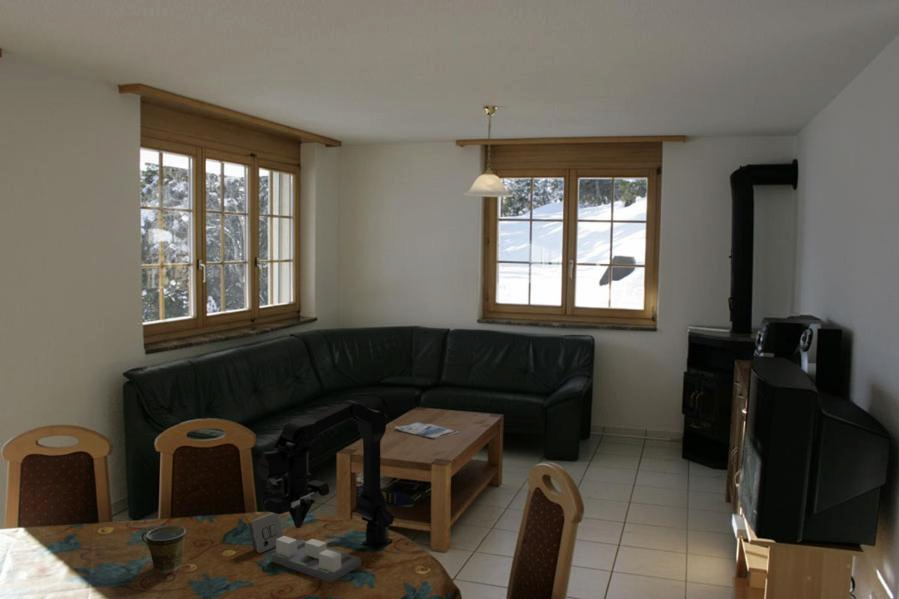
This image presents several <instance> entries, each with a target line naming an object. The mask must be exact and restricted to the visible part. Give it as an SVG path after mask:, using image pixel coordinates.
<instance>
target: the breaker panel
mask: <svg viewBox="0 0 899 599" xmlns="http://www.w3.org/2000/svg"><path fill="white" fill-rule="evenodd" d="M307 541H308V540H305V539H300V540H298V539H295V538H293V537H290V536H286V535H284V536H282V537H280V538H278V539H276V547H275V548H276V549H275V550H276V552H273V553H271V554H270V561H271V562H272V563H275V564H277V565H279V566H280V565H281V566H283V567H286V568H289V569H291V570H293V571H296V572H300V573H303V574H305V575H308V576H312V577H314V578H318V579H319V580H323V581H326V582H328V583H333V582H334V581H336V580H338V579H340V578H341V577H343V576H345V575H347V574H348V573H350V572H352V571H354V570H355V569H357V568H360V567H361V565H362V559H361V557H359V556H355V555H353V554H348V553H345V552H343V551H339V550H337V549H333V548H330V547H327V546H326V550H325V551H323V552H321V553H319V559H316V558H313V557H310V556H307V555H305V542H307Z"/></svg>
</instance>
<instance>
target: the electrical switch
mask: <svg viewBox="0 0 899 599" xmlns="http://www.w3.org/2000/svg"><path fill="white" fill-rule="evenodd" d="M248 529H249V534H250V539H251V545H252V550H253V551H254V550H255V551H256V552H257V553H258V554H261V553H264V552H266V551H268V550H271V549H273V548H276V539H278V538H280V537H282V536H285V535H284V530H283V525H282V520H281V514H276V513H273V512H270V513H269V514H266V515H263V516H260V517H258V518H255V519H253V520H252V521H250V522H248Z"/></svg>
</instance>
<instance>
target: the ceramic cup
mask: <svg viewBox="0 0 899 599" xmlns="http://www.w3.org/2000/svg"><path fill="white" fill-rule="evenodd" d="M186 532H187V531H186V528H184V527H183V526H180V525H164V526H158V527H155V528H154V529H151V530H150V531H148V530H146V531H143V532H142V534H141V540H142V541H143V542H144V543H145V545H147V548H148V550H149V552H150V556H151V561H152V565H153V570H154V573H155V574H162V575H165V574H171V573H175V572H176V571H178V570H180V568H181V564H182V559H183V558H182V556H183V550H184V546H185V540H186Z"/></svg>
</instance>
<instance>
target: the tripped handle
mask: <svg viewBox="0 0 899 599" xmlns="http://www.w3.org/2000/svg"><path fill="white" fill-rule="evenodd" d="M306 541H307V542H305V555H307V556H310V557H313V558H316V559H319V553H321V552H323V551H325V550H326V547H327V542H324V541H321V540H318V539H315V538H311V539H309V540H306Z"/></svg>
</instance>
